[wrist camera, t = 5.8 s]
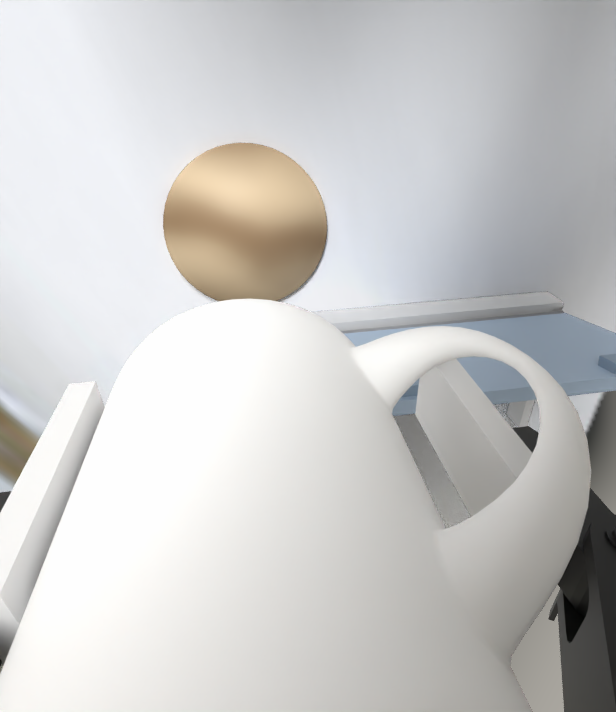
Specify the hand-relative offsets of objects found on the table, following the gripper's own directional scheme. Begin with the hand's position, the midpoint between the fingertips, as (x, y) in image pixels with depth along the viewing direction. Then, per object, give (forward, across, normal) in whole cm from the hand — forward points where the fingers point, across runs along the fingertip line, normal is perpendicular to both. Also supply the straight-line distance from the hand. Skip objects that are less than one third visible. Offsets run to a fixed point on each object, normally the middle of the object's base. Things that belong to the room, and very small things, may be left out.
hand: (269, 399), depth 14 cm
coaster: (+19, 0, 0) cm, 19 cm away
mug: (+1, +1, 0) cm, 1 cm away
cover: (+11, +14, -7) cm, 19 cm away
